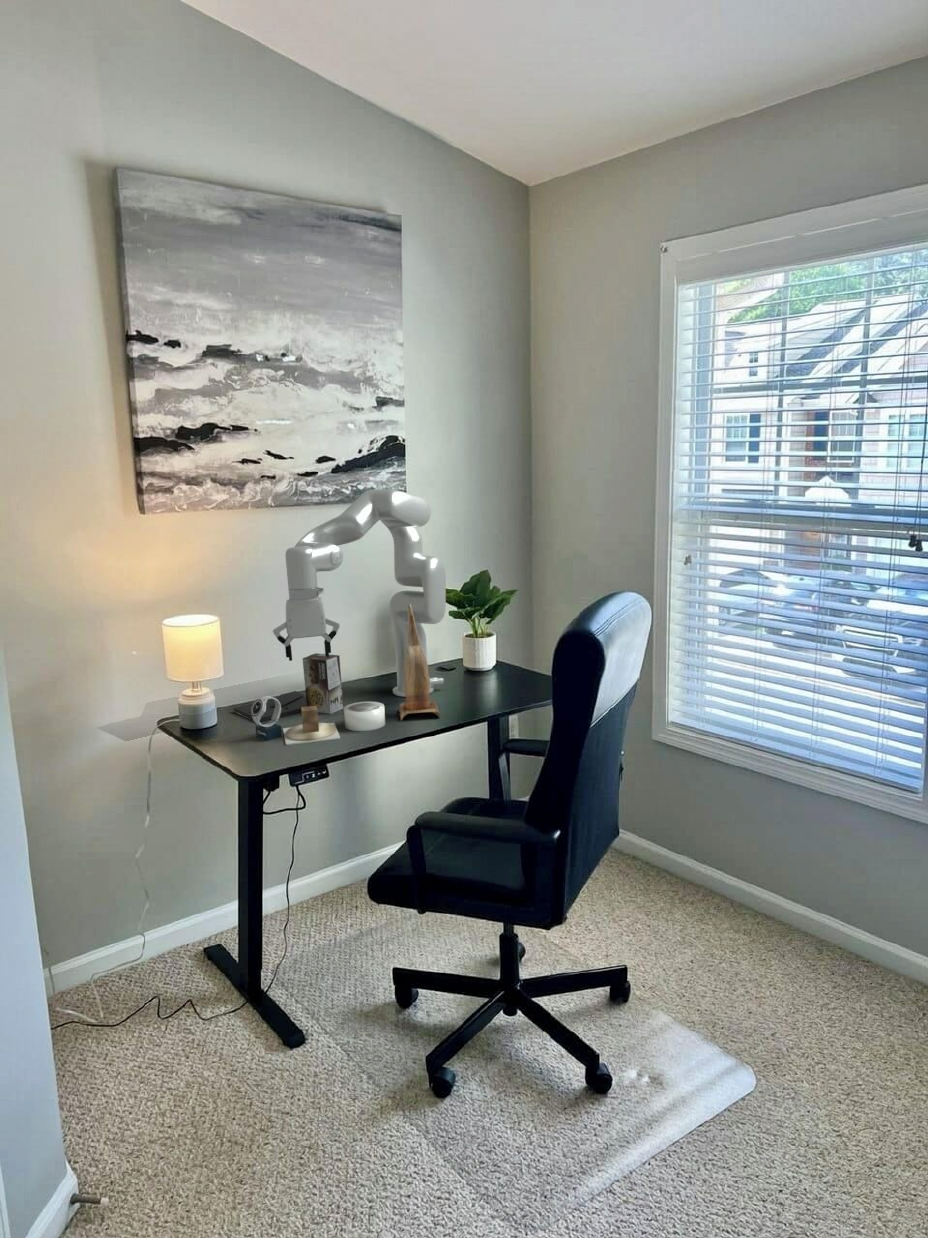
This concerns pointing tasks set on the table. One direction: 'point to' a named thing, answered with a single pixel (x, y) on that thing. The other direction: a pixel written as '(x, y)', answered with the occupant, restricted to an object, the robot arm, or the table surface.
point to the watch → (270, 728)
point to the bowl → (364, 716)
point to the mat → (293, 742)
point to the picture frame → (288, 702)
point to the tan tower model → (416, 675)
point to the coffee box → (323, 682)
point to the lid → (310, 727)
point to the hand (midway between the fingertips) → (308, 657)
